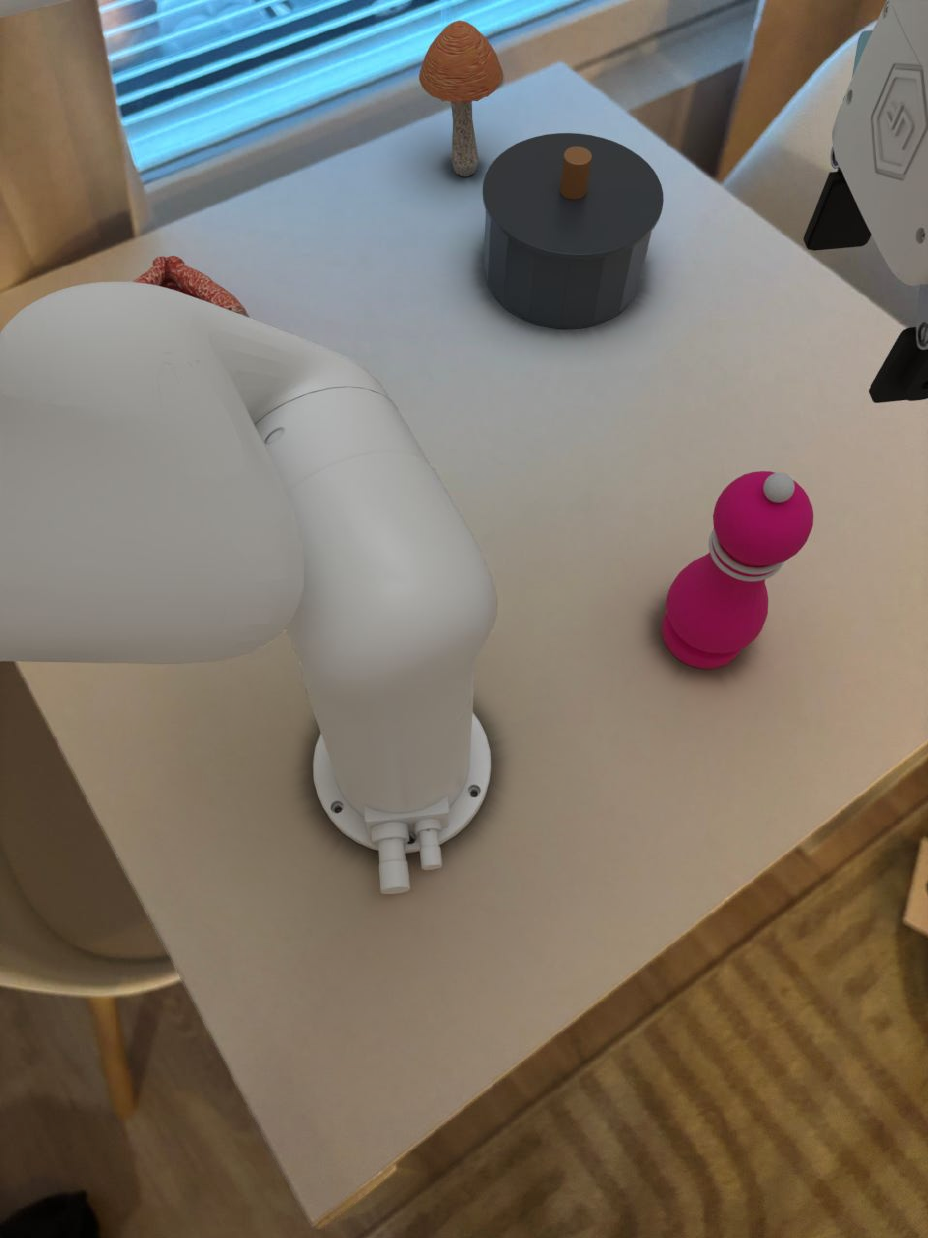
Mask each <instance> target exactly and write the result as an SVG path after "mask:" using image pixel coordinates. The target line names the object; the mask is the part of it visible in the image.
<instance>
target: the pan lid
mask: <svg viewBox="0 0 928 1238" xmlns="http://www.w3.org/2000/svg"><path fill="white" fill-rule="evenodd" d="M481 194H482V202H483V205H484V209H485V212H486V211H487V213H488V215H489V217H490V219H491V220H492V222H493V223H494V225H495V226H496V227H497V228H498V229H499V230H500V231H501V232H502V233H503V234H505V235H506V236H507V237H508V238H510V239H511V240H513V241H514V242H516V243H518V244H519V245H521V246H523V247H525V248H528V249H530V250H532V251H535V252H538V253H541V254H545V255H549V256H553V257H559V258H567V259H591V258H599V257H604V256H609V255H613V254H616V253H619V252H622V251H624V250H626V249H628V248H630V247H633V246H634V245H636V244H637V243H639V242H640V241H642V240H643V239H644V238H645V237H646V236H648V235H649V233H650V232H651V231H652V232H653V230H655V228H656V226H657V224H658V223H659V221H660V218H661V215H662V213H663V209H664V200H665V199H664V189H663V185H662V183H661V181H660V178H659V176H658V174H657V173H656V171H655V169H654V168H653V167H652V166H651V165H650V164H649V163H648V162H647V160H645V159H644V158H643V157H642V156H640V154H637V153H636V152H635V151H633V150H632V149H630V148H628V147H626V146H625V145H622V144H620V143H618V142H616V141H613V140H610V139H607V138H605V137H601V136H596V135H592V134H586V133H575V132H557V133H548V134H541V135H538V136H534V137H531V138H526V139H525V140H522V141H519V142H517V143H515V144H513V145H511V146H510V147H508V148H507V149H505V150H504V151H503V152H501V153H500V154H499V155H498V156H497V157H496V158H495V159H494V160H493V161H492V163H491V164H490V165H489V167H488V169H487V171H486V173H485V174H484V178H483V181H482V193H481ZM652 232H651V233H652Z"/></svg>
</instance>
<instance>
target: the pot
mask: <svg viewBox="0 0 928 1238" xmlns="http://www.w3.org/2000/svg"><path fill="white" fill-rule="evenodd" d="M652 232H653V230H652V231H651V232H650V233H649V235H648V236H646V237H645V238H644V239H643V240H642V241H640V242H639V243H637V244H636V245H634V246H633V247H630V248H628V249H626V250H624V251H622V252H619V253H616V254H613V255H609V256H604V257H599V258H591V259H567V258H559V257H553V256H549V255H545V254H541V253H538V252H535V251H532V250H530V249H528V248H525V247H523V246H521V245H519V244H518V243H516V242H514V241H513V240H511V239H510V238H508V237H507V236H506V235H505V234H503V233H502V232H501V231H500V230H499V229H498V228H497V227H496V226H495V225H494V223H493V222H492V220H491V219H490V217H489V215H488V213H487V211H486V210H485V222H484V247H483V248H484V250H483V265H484V276H485V281H486V284H487V286H488V289H489V291H490V292H491V294H492V296H493V297H494V299H496V301H497V302H498V303H499V304H500V306H502V307H503V308H504V309H506V310H507V311H508V312H509V313H511V314H513V315H514V316H516V317H518V318H520V319H522V320H523V321H526V322H529V323H531V324H534V325H537V326H542V327H545V328H552V329H561V330H562V329H563V330H571V329H573V330H574V329H582V328H588V327H592V326H596V325H600V324H602V323H605V322H607V321H609V320H611V319H613V318H615V317H616V316H618V315H619V314H621V313H622V312H623V311H624V310H625V309H627V308H628V306H629V305H630V304H631V303H632V302H633V300H634V299H635V297H636V295H637V294H638V291H639V288H640V284H641V279H642V276H643V272H644V267H645V262H646V258H647V254H648V250H649V245H650V241H651V238H652V237H651V236H652Z"/></svg>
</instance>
